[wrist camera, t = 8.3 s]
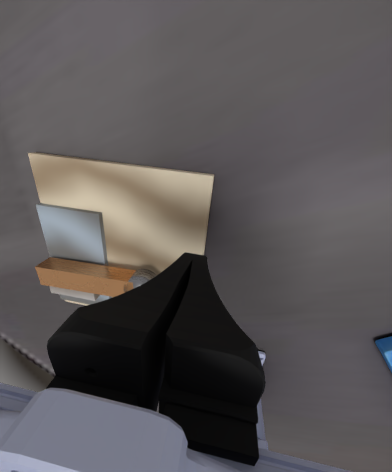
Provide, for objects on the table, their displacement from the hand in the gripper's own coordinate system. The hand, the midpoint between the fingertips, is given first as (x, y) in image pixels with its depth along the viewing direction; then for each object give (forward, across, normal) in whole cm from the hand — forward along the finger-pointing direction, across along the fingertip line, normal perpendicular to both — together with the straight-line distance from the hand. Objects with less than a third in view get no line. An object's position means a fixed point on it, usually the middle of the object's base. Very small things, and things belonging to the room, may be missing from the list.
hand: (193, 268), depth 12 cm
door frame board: (+9, +9, +6) cm, 14 cm away
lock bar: (+7, +11, +8) cm, 16 cm away
